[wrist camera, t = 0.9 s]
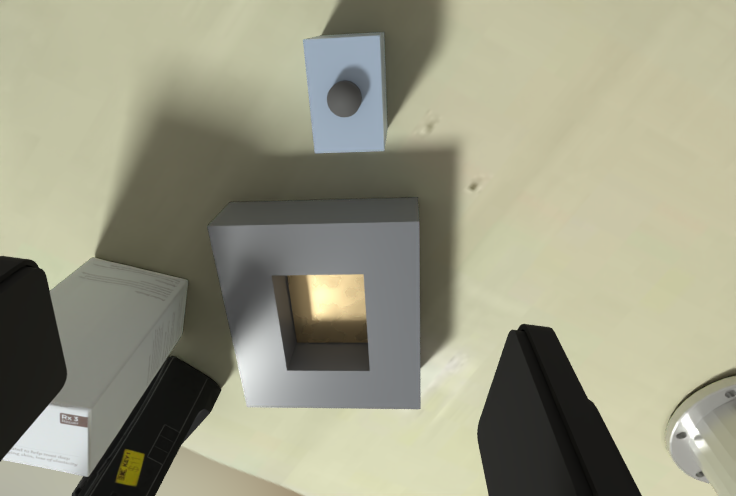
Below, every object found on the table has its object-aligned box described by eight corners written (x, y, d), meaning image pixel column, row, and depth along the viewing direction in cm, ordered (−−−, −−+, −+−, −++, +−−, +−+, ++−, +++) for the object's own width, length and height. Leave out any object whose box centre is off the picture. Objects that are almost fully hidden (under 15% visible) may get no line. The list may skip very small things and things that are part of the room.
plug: (384, 31, 30) (379, 36, 23) (387, 128, 32) (383, 154, 26) (321, 35, 30) (300, 40, 24) (329, 130, 33) (312, 157, 26)
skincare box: (93, 310, 41) (-58, 453, 27) (92, 250, 38) (-75, 377, 25) (189, 334, 41) (86, 487, 28) (195, 276, 38) (84, 414, 25)
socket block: (417, 197, 34) (419, 221, 30) (418, 370, 41) (420, 409, 37) (229, 202, 35) (207, 226, 31) (262, 369, 42) (247, 407, 38)
